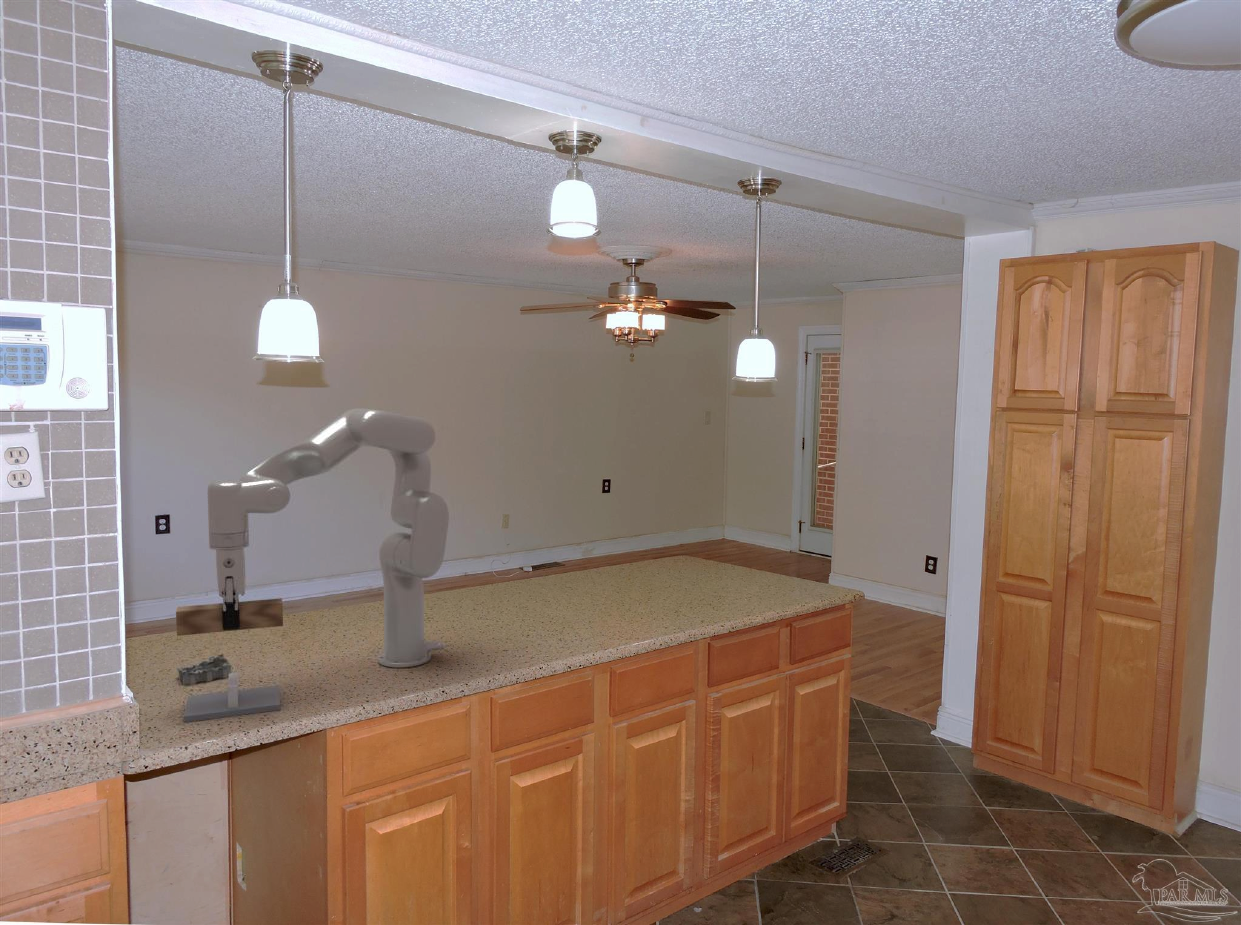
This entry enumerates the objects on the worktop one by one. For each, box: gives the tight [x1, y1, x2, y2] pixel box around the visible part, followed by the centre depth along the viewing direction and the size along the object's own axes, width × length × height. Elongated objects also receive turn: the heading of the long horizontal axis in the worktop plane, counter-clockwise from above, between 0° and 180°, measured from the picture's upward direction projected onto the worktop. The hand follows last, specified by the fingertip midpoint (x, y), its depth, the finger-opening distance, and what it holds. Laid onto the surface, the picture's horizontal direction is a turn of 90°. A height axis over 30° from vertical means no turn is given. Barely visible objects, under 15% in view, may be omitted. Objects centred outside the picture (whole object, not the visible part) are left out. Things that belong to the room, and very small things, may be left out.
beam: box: [175, 597, 284, 637], centre depth 177 cm, size 20×4×5 cm, turn 113°
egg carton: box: [176, 653, 233, 686], centre depth 195 cm, size 11×8×4 cm
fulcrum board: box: [183, 672, 281, 723], centre depth 178 cm, size 18×12×6 cm, turn 113°
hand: (231, 625), depth 177 cm, fingers closed on beam, 4 cm apart
